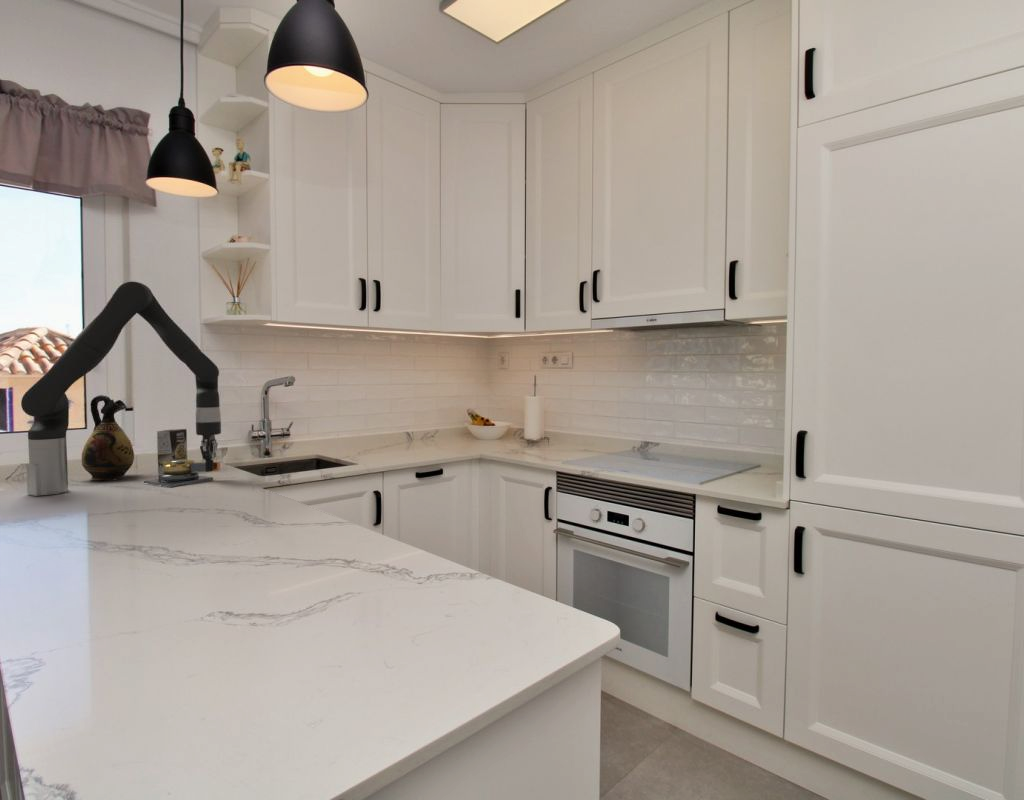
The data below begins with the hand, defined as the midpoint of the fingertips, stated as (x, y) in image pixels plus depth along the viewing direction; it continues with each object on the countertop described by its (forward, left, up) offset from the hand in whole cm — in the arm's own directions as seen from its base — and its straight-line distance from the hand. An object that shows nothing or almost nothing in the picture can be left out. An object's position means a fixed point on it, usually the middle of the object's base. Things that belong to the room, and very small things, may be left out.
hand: (209, 471), depth 192 cm
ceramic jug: (-12, +41, -4) cm, 43 cm away
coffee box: (+8, +35, -4) cm, 36 cm away
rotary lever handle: (-2, +8, -1) cm, 8 cm away
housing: (-4, +11, -4) cm, 12 cm away
